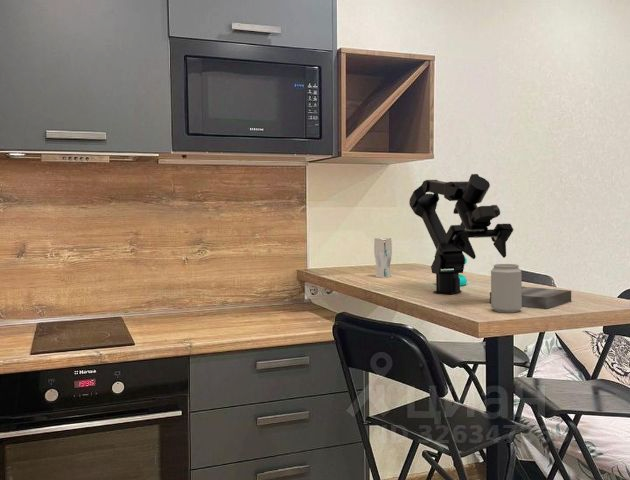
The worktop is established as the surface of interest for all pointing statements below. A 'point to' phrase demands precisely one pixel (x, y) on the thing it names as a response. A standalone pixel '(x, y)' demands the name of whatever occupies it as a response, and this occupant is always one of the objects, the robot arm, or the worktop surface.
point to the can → (506, 288)
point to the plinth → (543, 297)
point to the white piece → (383, 256)
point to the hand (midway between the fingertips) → (489, 257)
